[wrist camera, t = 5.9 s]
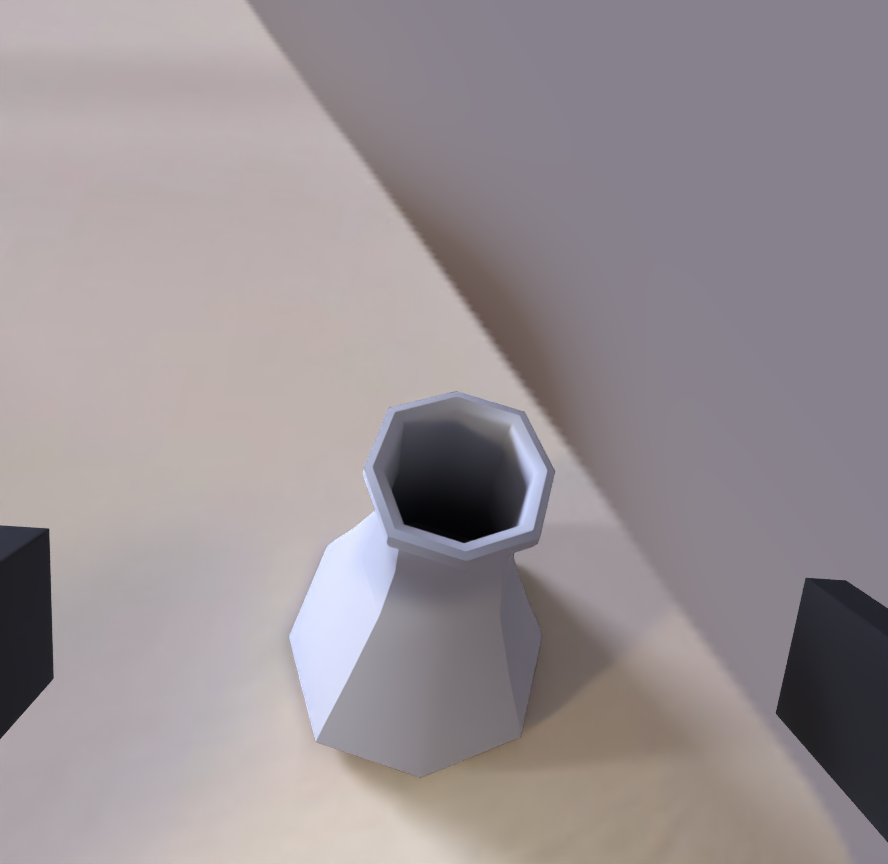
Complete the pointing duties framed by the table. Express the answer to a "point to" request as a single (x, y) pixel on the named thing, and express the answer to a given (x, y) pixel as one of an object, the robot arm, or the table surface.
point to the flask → (429, 591)
